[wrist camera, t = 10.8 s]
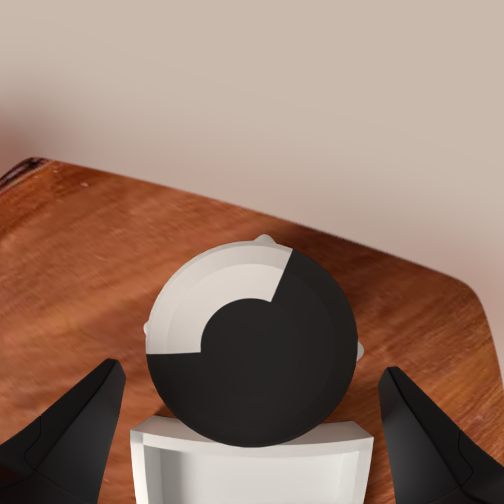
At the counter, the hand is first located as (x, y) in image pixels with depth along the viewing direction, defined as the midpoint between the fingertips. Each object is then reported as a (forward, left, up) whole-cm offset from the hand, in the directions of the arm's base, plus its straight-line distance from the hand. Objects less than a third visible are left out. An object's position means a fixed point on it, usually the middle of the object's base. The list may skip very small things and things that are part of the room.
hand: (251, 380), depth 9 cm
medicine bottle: (+1, -1, -10) cm, 10 cm away
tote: (-12, +6, -10) cm, 17 cm away
